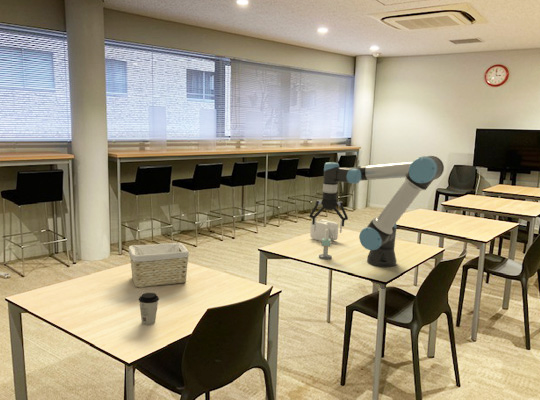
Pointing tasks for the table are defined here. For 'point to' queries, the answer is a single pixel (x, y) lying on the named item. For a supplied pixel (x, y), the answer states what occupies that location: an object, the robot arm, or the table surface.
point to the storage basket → (158, 264)
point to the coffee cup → (148, 308)
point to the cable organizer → (324, 230)
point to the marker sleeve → (326, 242)
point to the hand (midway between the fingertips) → (327, 231)
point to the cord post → (325, 249)
